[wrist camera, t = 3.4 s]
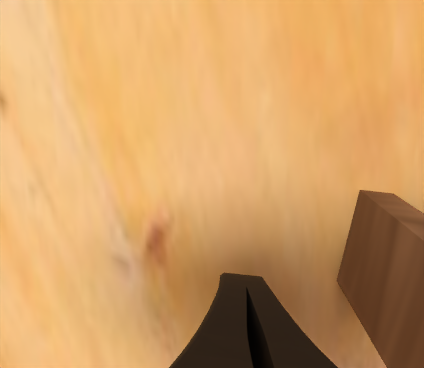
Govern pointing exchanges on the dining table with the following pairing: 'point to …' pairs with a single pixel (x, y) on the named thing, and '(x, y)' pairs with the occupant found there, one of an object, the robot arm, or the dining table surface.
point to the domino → (387, 276)
